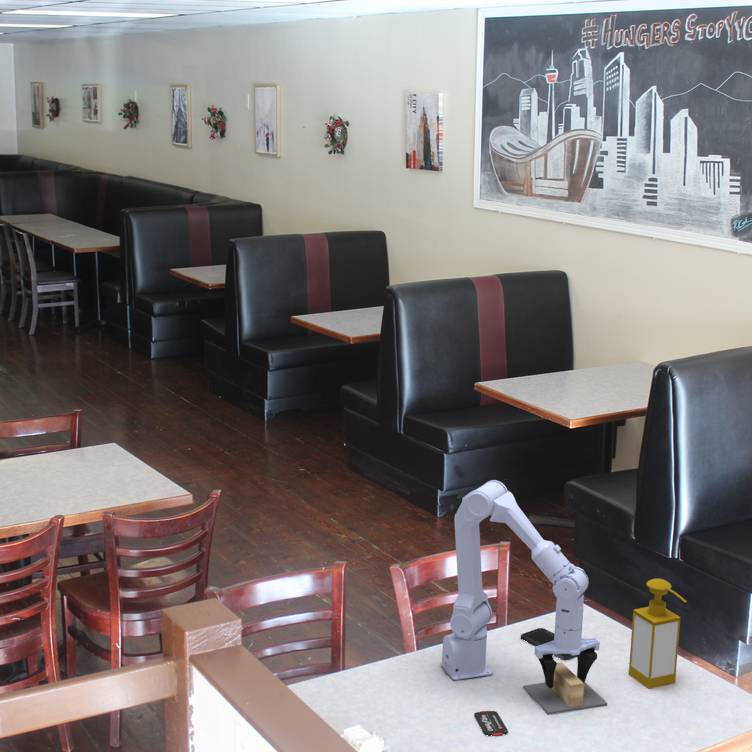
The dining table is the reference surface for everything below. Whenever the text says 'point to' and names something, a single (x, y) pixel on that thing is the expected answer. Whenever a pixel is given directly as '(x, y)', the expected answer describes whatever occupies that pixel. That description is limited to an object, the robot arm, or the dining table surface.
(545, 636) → the phone
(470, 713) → the dining table surface
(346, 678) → the dining table surface
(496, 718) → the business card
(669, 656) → the soap bottle
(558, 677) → the oak domino
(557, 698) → the rubber mat
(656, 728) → the dining table surface
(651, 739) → the dining table surface
